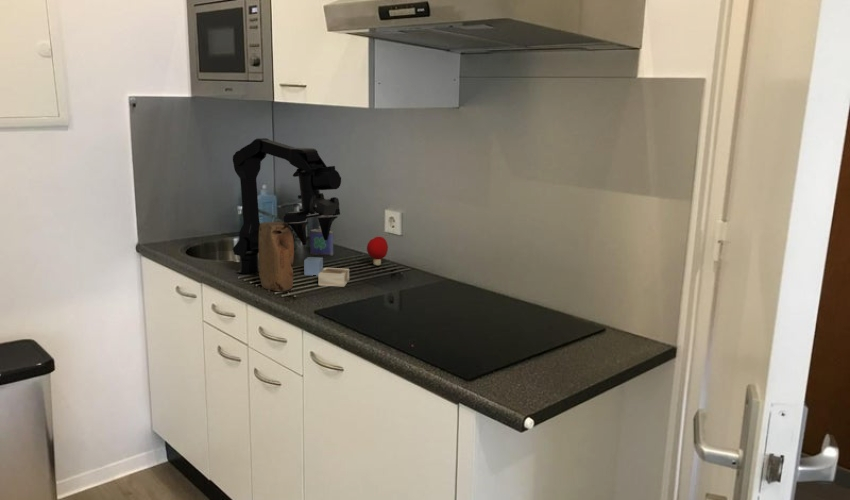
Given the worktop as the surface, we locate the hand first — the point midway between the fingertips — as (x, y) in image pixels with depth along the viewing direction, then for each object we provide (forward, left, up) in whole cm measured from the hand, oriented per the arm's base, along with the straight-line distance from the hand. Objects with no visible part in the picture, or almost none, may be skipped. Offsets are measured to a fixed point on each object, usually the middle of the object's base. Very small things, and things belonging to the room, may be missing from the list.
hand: (315, 242), depth 205 cm
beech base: (-6, +4, -14) cm, 16 cm away
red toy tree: (-30, +14, -14) cm, 36 cm away
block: (+4, -11, -14) cm, 18 cm away
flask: (-44, -9, -14) cm, 47 cm away
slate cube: (-16, -5, -14) cm, 21 cm away
